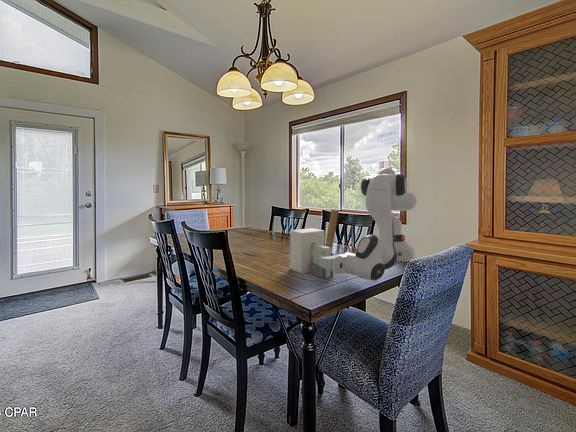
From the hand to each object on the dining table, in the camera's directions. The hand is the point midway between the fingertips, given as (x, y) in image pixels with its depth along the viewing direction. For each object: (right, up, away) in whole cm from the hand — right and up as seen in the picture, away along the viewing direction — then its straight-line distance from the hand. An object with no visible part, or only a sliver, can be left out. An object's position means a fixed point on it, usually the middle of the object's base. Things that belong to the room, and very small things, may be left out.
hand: (328, 256), depth 144 cm
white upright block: (-3, -9, +6) cm, 11 cm away
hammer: (+4, -7, +33) cm, 34 cm away
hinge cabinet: (-6, -9, +11) cm, 15 cm away
